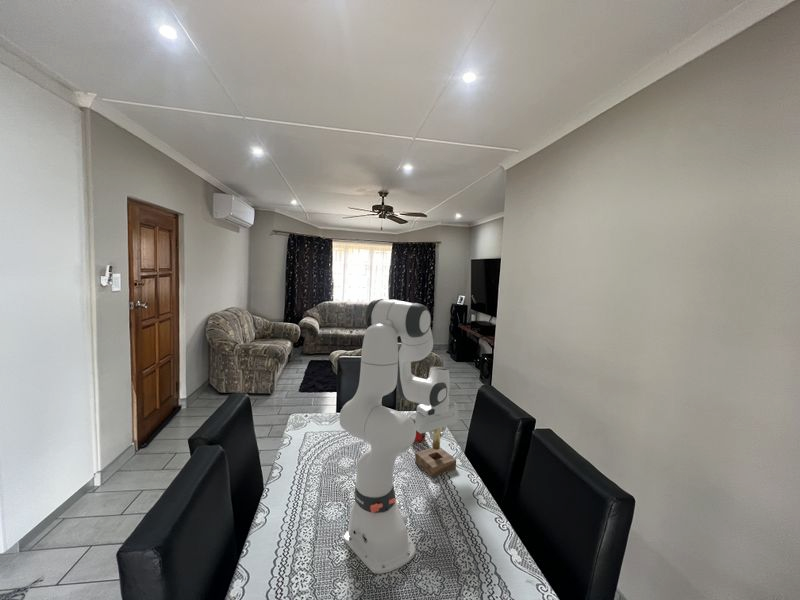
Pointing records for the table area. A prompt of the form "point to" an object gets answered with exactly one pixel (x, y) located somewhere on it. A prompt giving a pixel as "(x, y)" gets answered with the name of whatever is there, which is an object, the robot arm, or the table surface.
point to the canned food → (419, 436)
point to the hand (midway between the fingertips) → (436, 437)
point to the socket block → (435, 461)
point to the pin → (436, 439)
